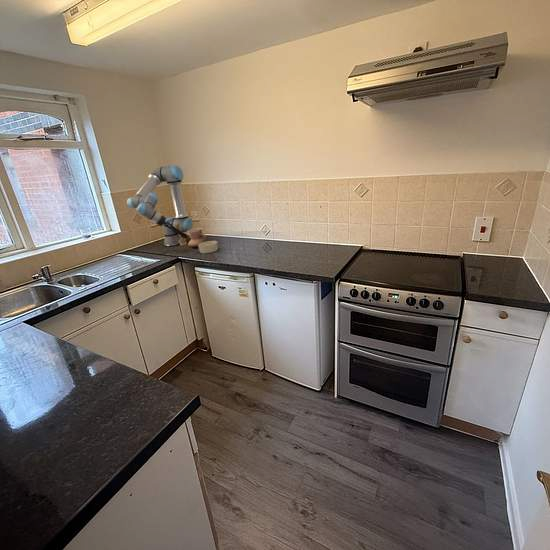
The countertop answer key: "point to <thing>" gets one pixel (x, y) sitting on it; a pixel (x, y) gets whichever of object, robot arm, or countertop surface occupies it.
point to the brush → (182, 240)
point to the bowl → (208, 247)
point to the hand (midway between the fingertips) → (186, 236)
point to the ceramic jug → (196, 237)
